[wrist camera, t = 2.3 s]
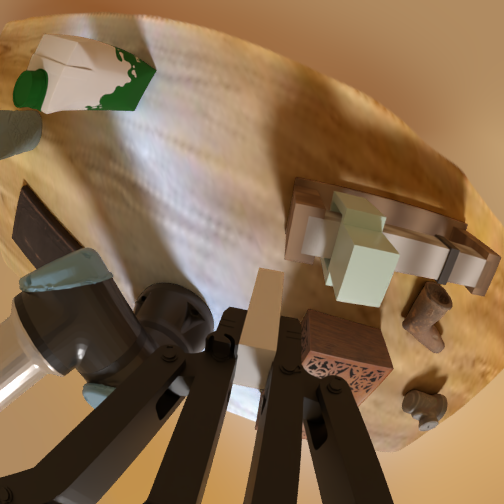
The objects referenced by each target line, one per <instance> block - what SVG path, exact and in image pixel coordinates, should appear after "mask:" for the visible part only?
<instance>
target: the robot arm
mask: <svg viewBox="0 0 504 504" xmlns="http://www.w3.org/2000/svg"><path fill="white" fill-rule="evenodd" d="M112 277H113V274H112V273H111V272H109V270H108V269H107V267H106V265H105V264H104V262H103V260H102V259H101V257H100V255H99V254H98V253H97V252H96V251H95V250H94V249H91V248H82V249H79V250H77V251H74V252H72V253H70V254H67V255H65V256H63V257H61V258H59V259H56V260H54V261H52V262H50V263H48V264H46V265H44V266H42V267H40V268H38V269H37V270H35V271H33V272H31V273H29V274H27V275H25V276H24V277H22V278H21V279H20V280H19V284H20V289H21V290H22V292H21V293H19V294H18V295H17V296H16V297H14V298H13V300H12V309H11V315H10V317H8V318H7V319H6V320H5V321H4V322H2V323H1V324H0V412H1V411H2V410H3V409H4V408H6V407H7V406H8V405H9V404H11V403H12V402H13V401H14V400H15V399H17V398H18V397H19V396H20V395H21V394H23V393H24V392H25V391H26V390H28V389H29V388H30V387H31V386H33V385H34V384H35V383H36V382H38V381H39V380H40V379H41V378H43V377H44V376H45V375H47V374H54V375H57V376H61V377H64V376H65V375H66V374H68V373H69V372H70V371H72V370H73V369H74V368H76V369H77V370H78V372H79V373H80V374H81V375H82V376H83V377H84V379H85V380H86V381H87V383H86V384H85V385H84V386H83V396H84V398H85V400H86V401H87V402H88V403H89V404H90V405H91V406H92V407H93V408H94V410H93V411H92V412H91V413H90V414H89V415H88V416H87V417H86V418H85V419H84V420H83V421H82V422H81V423H80V424H79V425H78V426H77V427H76V428H75V429H73V430H72V431H71V432H70V433H69V434H68V435H67V436H66V437H65V438H64V439H63V440H62V441H61V442H60V443H59V444H58V445H57V446H56V447H55V448H54V449H53V450H52V451H51V452H49V453H48V454H47V455H46V456H45V457H44V458H43V459H42V460H41V461H40V462H39V463H38V464H37V465H36V466H35V467H34V468H31V469H28V470H25V471H22V472H19V473H15V474H12V475H8V476H5V477H1V478H0V504H96V503H97V502H98V501H99V500H100V499H101V498H102V496H103V495H104V494H105V493H106V492H107V491H108V490H109V489H110V487H111V486H112V485H113V484H114V483H115V482H116V481H117V480H118V478H119V477H120V476H121V475H122V474H123V473H124V471H125V470H126V469H127V468H128V467H129V466H130V464H131V463H132V462H133V461H134V460H135V459H136V457H137V456H138V455H139V454H140V453H141V451H142V450H143V449H144V448H145V447H146V445H147V444H148V443H149V442H150V441H151V439H152V438H153V437H154V436H155V435H156V433H157V432H158V431H159V430H160V428H161V427H162V426H163V425H164V423H165V422H166V421H167V420H168V418H169V417H170V416H171V415H172V413H173V412H174V411H175V409H176V408H177V407H178V406H179V405H180V403H181V402H182V401H183V399H184V398H185V397H186V396H187V399H186V401H185V404H184V406H183V409H182V411H181V414H180V416H179V419H178V422H177V424H176V427H175V429H174V432H173V434H172V437H171V440H170V442H169V445H168V447H167V450H166V452H165V455H164V458H163V460H162V463H161V466H160V468H159V471H158V473H157V476H156V478H155V481H154V484H153V486H152V489H151V491H150V494H149V496H148V498H147V500H146V501H145V502H144V503H143V504H201V502H202V498H203V494H204V491H205V487H206V484H207V480H208V477H209V473H210V469H211V466H212V462H213V458H214V455H215V451H216V447H217V444H218V439H219V436H220V432H221V428H222V425H223V421H224V417H225V414H226V410H227V406H228V402H229V398H230V394H231V389H232V384H236V385H241V386H246V387H251V388H256V389H262V390H265V393H264V396H263V399H262V402H261V405H260V408H261V411H260V417H259V423H258V429H257V435H256V441H255V446H254V451H253V457H252V462H251V468H250V472H249V478H248V483H247V488H246V493H245V497H244V502H243V504H297V494H298V484H299V473H300V460H301V445H302V426H303V424H304V428H305V432H306V437H307V440H308V445H309V449H310V453H311V457H312V461H313V465H314V469H315V474H316V478H317V482H318V486H319V490H320V495H321V499H322V503H323V504H394V503H393V500H392V497H391V494H390V492H389V488H388V485H387V483H386V480H385V477H384V474H383V471H382V468H381V466H380V463H379V460H378V458H377V455H376V452H375V450H374V447H373V444H372V442H371V439H370V436H369V434H368V431H367V429H366V426H365V423H364V421H363V418H362V416H361V413H360V411H359V408H358V406H357V403H356V401H355V398H354V396H353V394H352V391H351V389H350V386H349V384H348V383H347V381H346V380H344V379H343V378H342V377H339V376H337V375H328V376H325V377H324V378H323V379H321V378H318V377H316V376H313V375H311V374H309V373H308V372H307V371H306V370H305V369H304V368H303V365H302V362H301V339H302V335H301V333H302V326H301V324H300V322H299V321H298V319H295V318H289V317H283V316H280V312H281V302H282V292H283V281H284V272H280V271H275V270H269V269H264V268H259V271H258V275H257V278H256V282H255V286H254V290H253V293H252V297H251V301H250V304H249V308H248V310H243V309H239V308H234V307H229V308H228V309H227V310H225V311H224V312H223V315H222V317H221V320H220V323H219V325H218V328H217V330H216V331H214V332H213V330H214V321H213V317H212V315H211V312H210V310H209V309H208V307H207V306H206V304H205V303H204V302H203V301H202V300H201V299H200V298H199V297H198V296H197V295H195V294H194V293H193V292H191V291H190V290H188V289H186V288H184V287H182V286H179V285H176V284H171V283H157V284H154V285H151V286H149V287H148V288H147V289H145V290H144V292H143V293H142V294H141V295H140V296H139V298H138V299H137V301H136V304H135V307H134V311H132V309H131V308H130V306H129V304H128V303H127V301H126V300H125V298H124V296H123V295H122V293H121V291H120V290H119V288H118V286H117V285H116V283H115V281H114V280H113V278H112ZM204 348H205V351H203V352H201V351H202V350H203V349H204Z"/></svg>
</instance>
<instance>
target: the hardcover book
mask: <svg viewBox="0 0 504 504" xmlns="http://www.w3.org/2000/svg"><path fill="white" fill-rule="evenodd" d="M12 239H13V240H14V241H15V243H16V244H17V245H18V247H19V248H20V249H21V250H22V252H23V253H24V254H25V256H26V257H27V258H28V259H29V261H30V262H31V263H32V264H33V265H34V267H35V268H36V269H38V268H40V267H42V266H44V265H46V264H48V263H50V262H52V261H54V260H56V259H59V258H61V257H63V256H65V255H67V254H70V253H72V252H74V251H77V250H79V249H82V247H81V246H80V245H79V244H78V243H77V242H76V240H75V239H74V238H73V237H72V236H71V235H70V234H69V233H68V232H67V231H66V230H65V229H64V228H63V227H62V226H61V224H60V223H59V222H58V221H57V220H56V219H55V218H54V217H53V215H52V214H51V213H50V212H49V211H48V210H47V209H46V207H45V206H44V205H43V204H42V203H41V201H40V200H39V199H38V198H37V197H36V195H35V194H34V193H33V192H32V190H31V189H30V188H29V187H28V185H26V186H23V187H22V189H21V192H20V196H19V201H18V206H17V210H16V216H15V221H14V227H13V234H12Z"/></svg>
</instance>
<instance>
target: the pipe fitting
mask: <svg viewBox="0 0 504 504" xmlns="http://www.w3.org/2000/svg"><path fill="white" fill-rule="evenodd" d="M402 409H403V411H404V412H406V413H409V414H411V415H412V417H413V418H414V419H416V420H419V430H420V431H428V430H431V429H433V428H435V427H436V426H437V425H438V421H439V420H440V419H441V418H442V417H443V416H444V414H445V412H446V410H447V399H446V397H445V396H444V395H441V394H433V395H429V394H426V393H423V392H421V391H418V390H412V391H410V392H408V393H407V395H406V396H405V397H404V399H403V402H402Z"/></svg>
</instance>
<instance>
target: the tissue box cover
mask: <svg viewBox="0 0 504 504" xmlns="http://www.w3.org/2000/svg"><path fill="white" fill-rule="evenodd" d="M301 326H302V333H301V335H302V339H301V362H302V365H303V368H304V369H305V370H306V371H307V372H308V373H309V374H311V375H313V376H316V377H318V378H321V379H323V378H324V377H325V376H328V375H337V376H339V377H342V378H343V379H344V380H346V381H347V383H348V384H349V386H350V389H351V391H352V394H353V396H354V398H355V401H356V403H357V406H359V405H360V404H361V403H362V402H363V401H364V400H365V399H366V398H367V397H368V396H369V395H370V394H371V393H372V392H373V391H374V390H375V389H376V388H377V387H378V386H379V385H380V384H381V382H382V381H383V380H384V379H385V378H386V377H387V376H388V375H389V374H390V372H391V371H392V370H393V369H394V368H393V365H392V362H391V359H390V356H389V353H388V350H387V347H386V344H385V341H384V338H383V335H382V332H381V329H377V328H373V327H370V326H366V325H362V324H359V323H355V322H352V321H348V320H345V319H341V318H338V317H334V316H331V315H328V314H324V313H321V312H317V311H314V310H311V309H308V311H307V313H306V315H305V317H304V319H303V321H302V322H301ZM264 393H265V390H263V391H262V393H261V395H260V402H259V408H258V414H257V420H256V426H255V430H257V429H258V423H259V417H260V411H261V408H260V405H261V402H262V399H263V396H264ZM302 439H307V437H306V432H305V428H304V424H303V426H302Z"/></svg>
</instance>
